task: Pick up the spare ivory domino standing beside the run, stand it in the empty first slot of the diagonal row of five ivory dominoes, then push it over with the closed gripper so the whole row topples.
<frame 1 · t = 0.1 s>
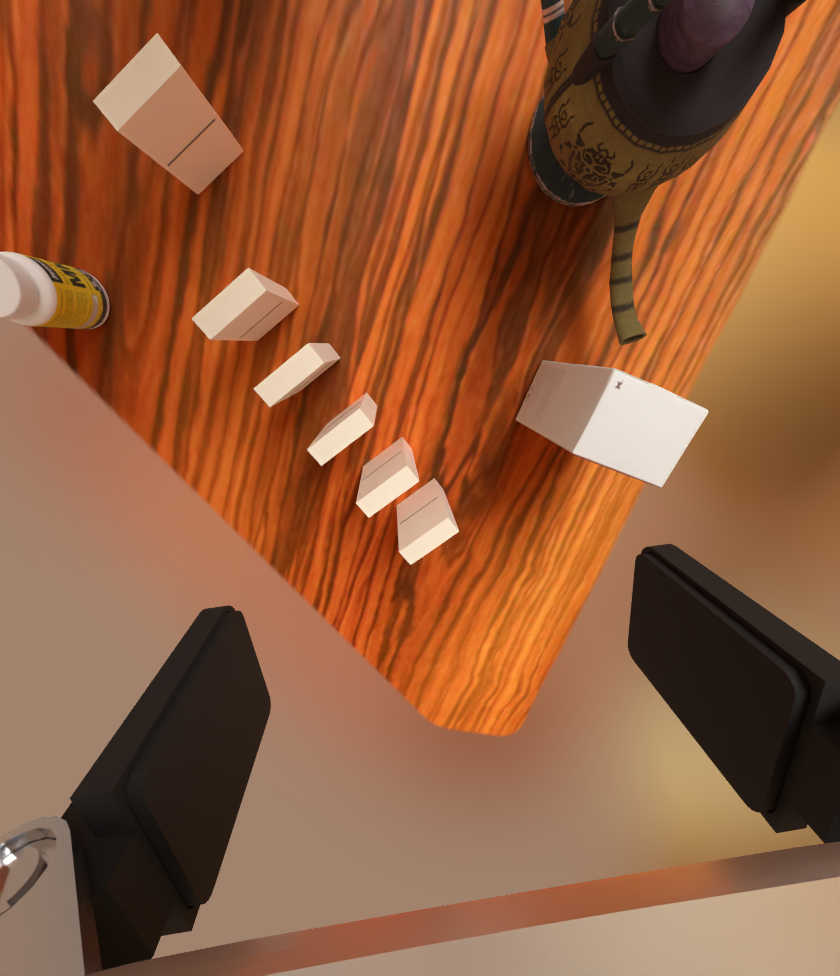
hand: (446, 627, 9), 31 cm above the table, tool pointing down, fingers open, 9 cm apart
small box: (561, 404, 40), on the table
domino 5: (387, 457, 40), on the table
supplement bottle: (83, 299, 33), on the table
domino 3: (314, 367, 36), on the table
domino 1: (213, 162, 31), on the table
teapot: (586, 192, 34), on the table
domino 4: (351, 414, 38), on the table
domino 6: (419, 497, 42), on the table
domino 2: (271, 315, 35), on the table
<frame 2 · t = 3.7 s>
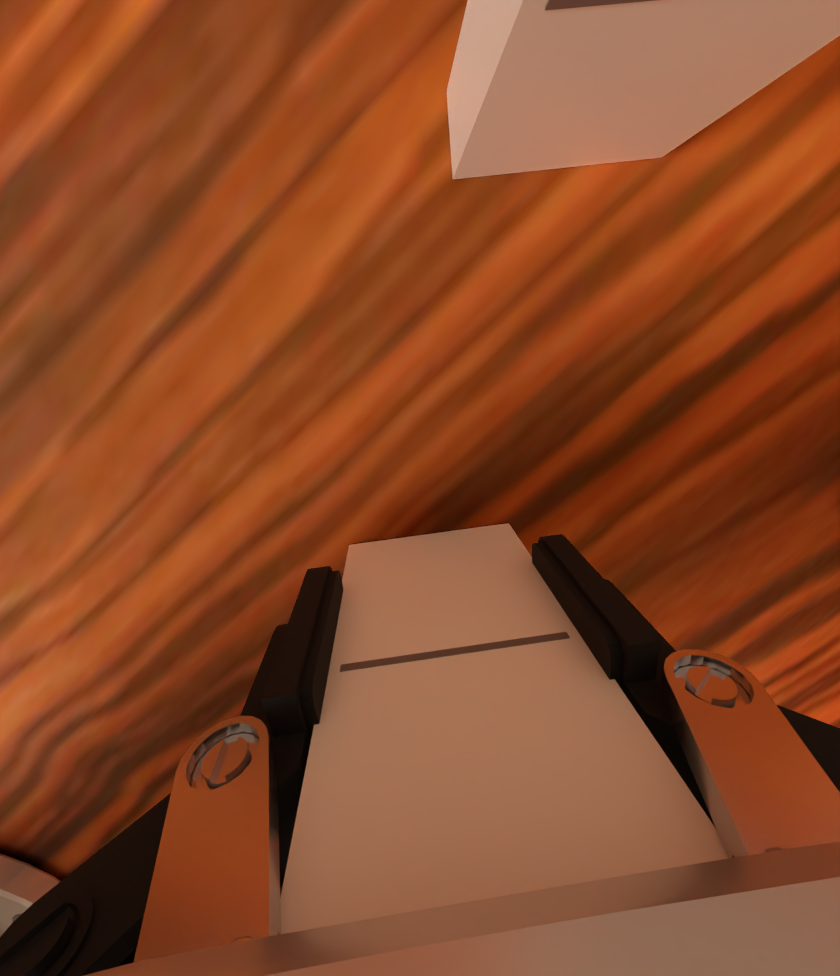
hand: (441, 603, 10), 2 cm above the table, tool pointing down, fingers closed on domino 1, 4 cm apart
domino 1: (432, 556, 12), on the table, touching gripper
domino 2: (558, 125, 9), on the table
when the fingers open (3 cm above the table, at t = 8.5 s): domino 1 stays where it is, on the table.
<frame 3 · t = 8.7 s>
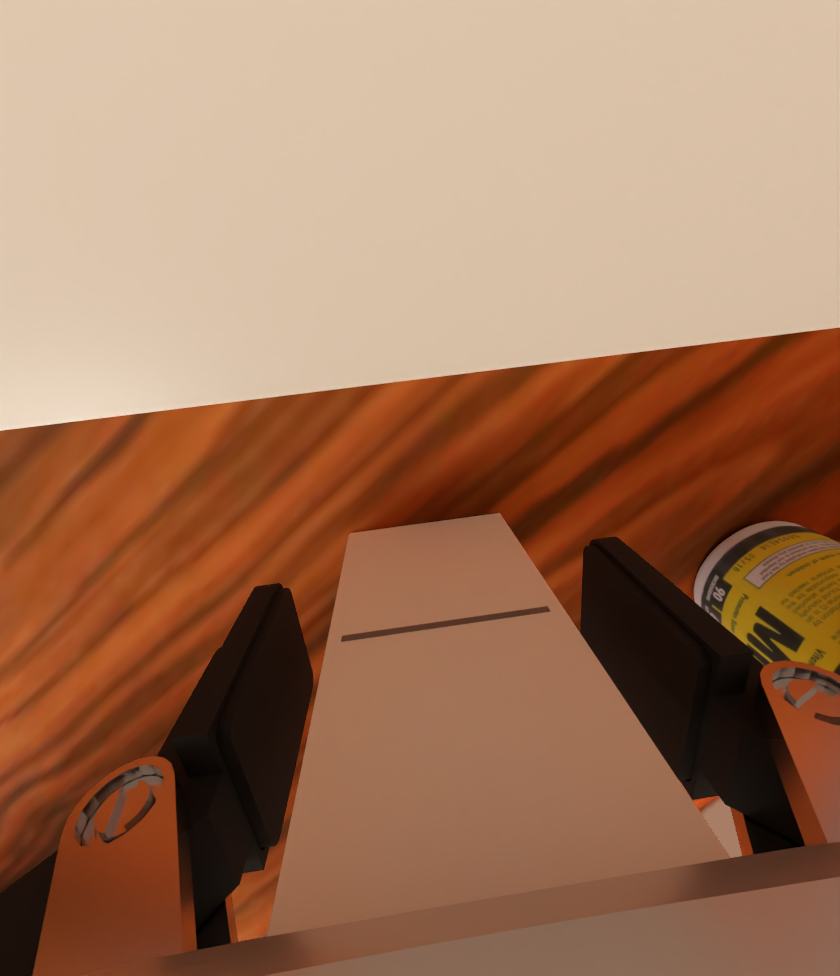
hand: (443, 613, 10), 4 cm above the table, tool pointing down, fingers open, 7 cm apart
supplement bottle: (745, 572, 15), on the table
domino 1: (427, 544, 13), on the table
domino 2: (402, 318, 11), on the table
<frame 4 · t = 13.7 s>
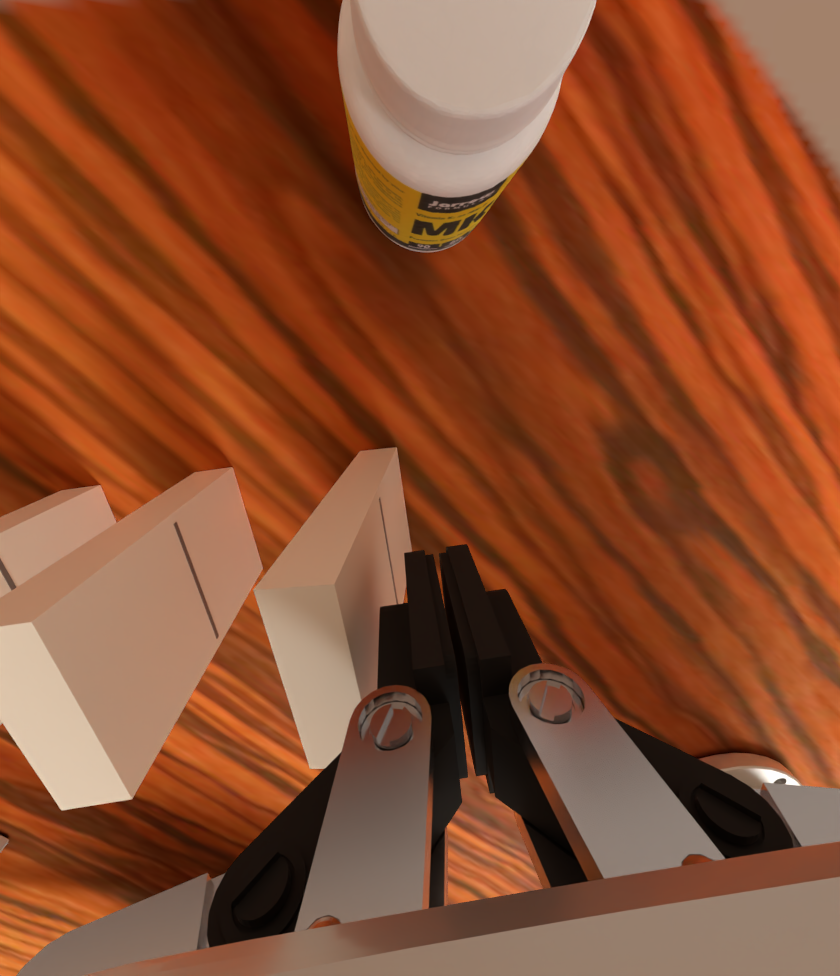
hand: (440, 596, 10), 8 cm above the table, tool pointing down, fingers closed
supplement bottle: (425, 179, 14), on the table
domino 3: (104, 540, 17), on the table
domino 1: (387, 502, 18), on the table, tilted 8°
domino 2: (230, 522, 18), on the table
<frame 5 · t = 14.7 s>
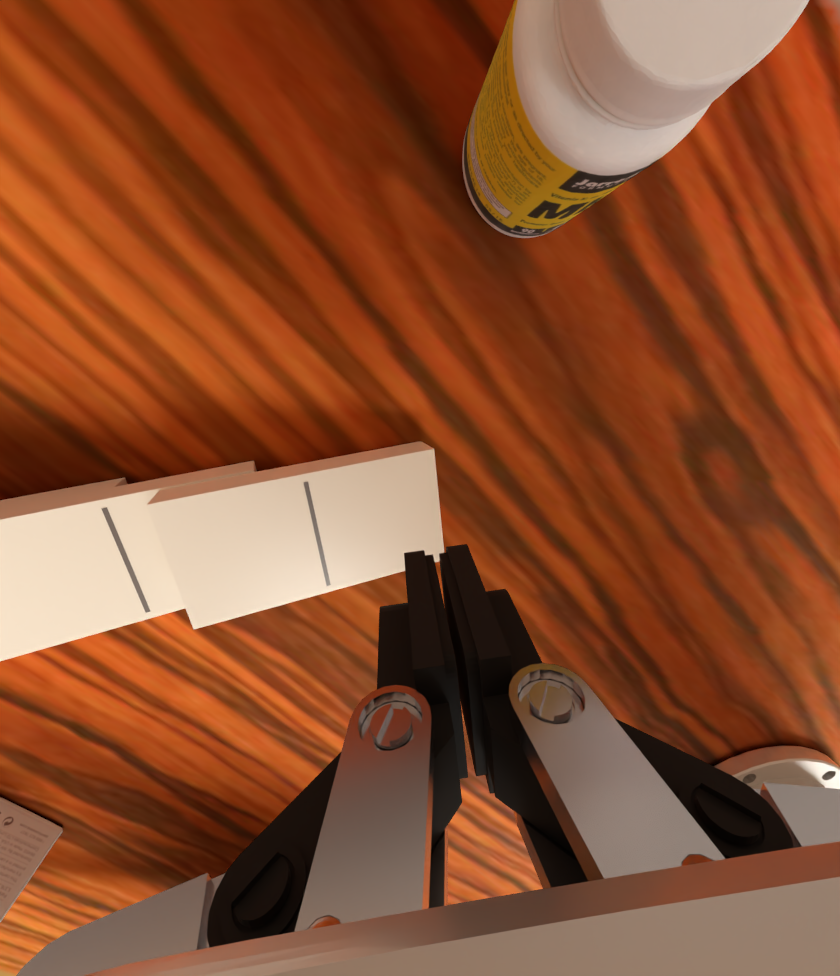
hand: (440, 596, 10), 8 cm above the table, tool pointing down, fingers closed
supplement bottle: (526, 164, 14), on the table
domino 3: (141, 538, 17), point 1 cm above the table, tilted 73°, touching domino 2, domino 4
domino 1: (433, 500, 17), point 1 cm above the table, tilted 76°, touching domino 2
domino 2: (268, 520, 17), point 1 cm above the table, tilted 73°, touching domino 1, domino 3
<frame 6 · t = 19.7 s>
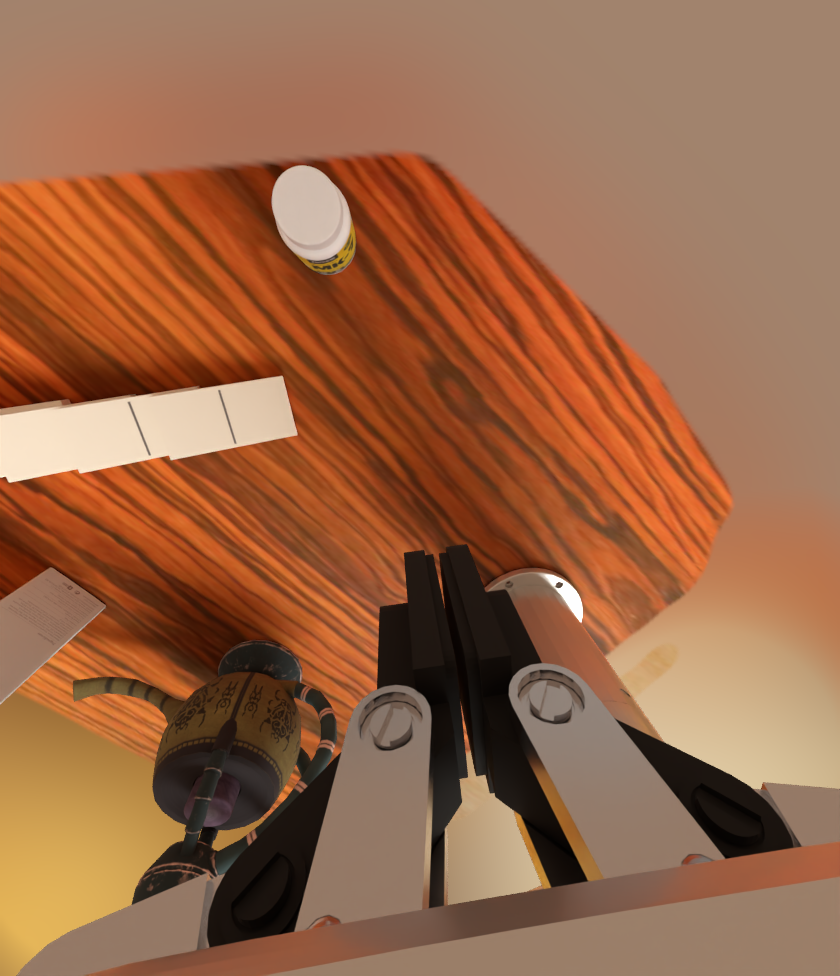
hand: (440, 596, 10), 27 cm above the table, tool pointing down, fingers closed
small box: (57, 606, 40), on the table
supplement bottle: (326, 242, 31), on the table
domino 3: (144, 424, 34), point 1 cm above the table, tilted 73°, touching domino 2, domino 4
domino 1: (290, 405, 34), point 1 cm above the table, tilted 76°, touching domino 2
teapot: (229, 666, 44), on the table
domino 4: (77, 429, 33), point 1 cm above the table, tilted 73°, touching domino 3, domino 5
domino 2: (208, 415, 34), point 1 cm above the table, tilted 73°, touching domino 1, domino 3
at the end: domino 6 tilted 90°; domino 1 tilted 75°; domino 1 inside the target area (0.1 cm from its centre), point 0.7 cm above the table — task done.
